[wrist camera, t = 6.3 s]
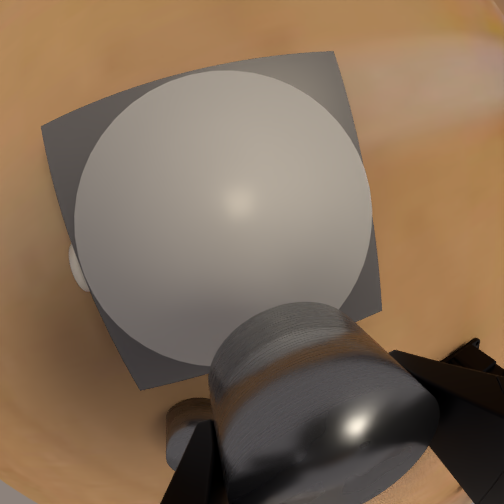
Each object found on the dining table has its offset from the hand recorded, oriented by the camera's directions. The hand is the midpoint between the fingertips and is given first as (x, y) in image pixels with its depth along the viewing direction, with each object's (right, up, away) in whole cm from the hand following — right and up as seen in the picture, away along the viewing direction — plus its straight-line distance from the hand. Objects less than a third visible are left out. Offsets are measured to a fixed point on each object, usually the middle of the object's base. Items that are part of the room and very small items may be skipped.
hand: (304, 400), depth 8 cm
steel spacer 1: (-5, -9, +13) cm, 16 cm away
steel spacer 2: (0, 0, +1) cm, 1 cm away
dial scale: (-3, +6, +9) cm, 12 cm away
